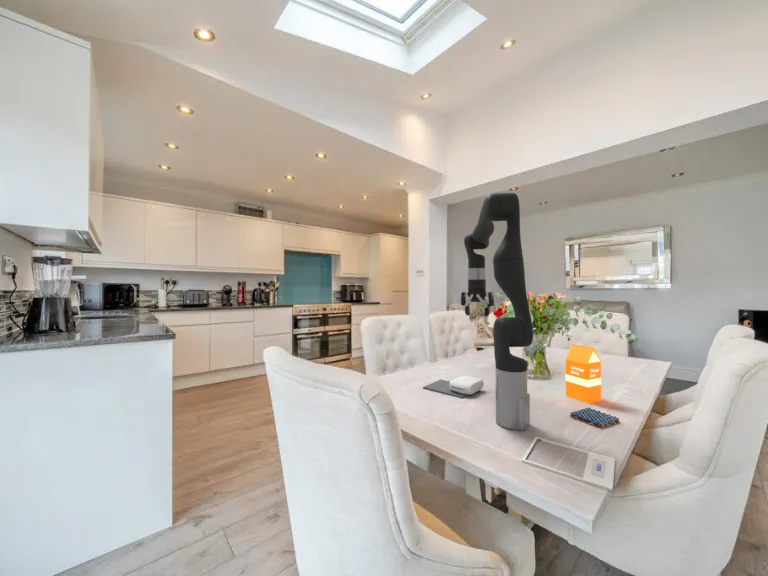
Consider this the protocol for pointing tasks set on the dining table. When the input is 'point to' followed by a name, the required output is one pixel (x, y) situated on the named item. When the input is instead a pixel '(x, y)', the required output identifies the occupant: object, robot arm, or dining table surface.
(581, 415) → the woven mat
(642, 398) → the dining table surface
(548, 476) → the dining table surface
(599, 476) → the photo frame
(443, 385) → the charcoal mat
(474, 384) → the photo printer
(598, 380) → the orange juice
